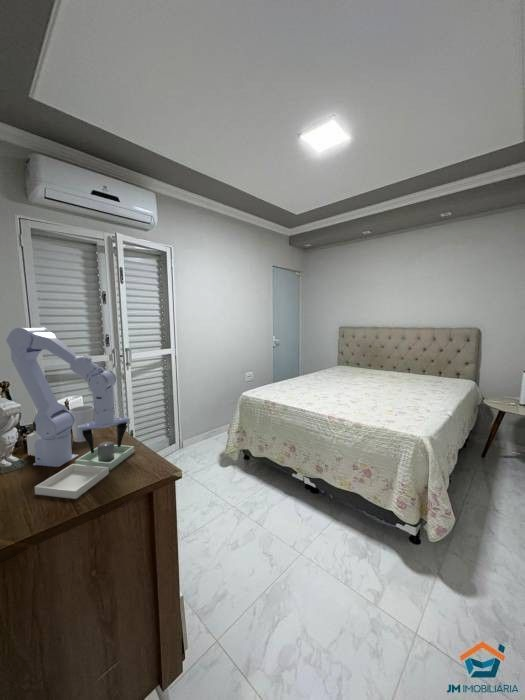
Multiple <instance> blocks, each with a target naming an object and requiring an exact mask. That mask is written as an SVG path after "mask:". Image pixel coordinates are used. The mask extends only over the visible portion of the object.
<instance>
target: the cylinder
mask: <svg viewBox="0 0 525 700" xmlns="http://www.w3.org/2000/svg"><path fill="white" fill-rule="evenodd" d="M114 445H115V443H114V442H113V441H104V442H101V443H98V445H97V447H98V461H100V462H110V461H112V460H113V459H114Z"/></svg>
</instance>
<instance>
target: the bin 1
mask: <svg viewBox="0 0 525 700" xmlns="http://www.w3.org/2000/svg"><path fill="white" fill-rule="evenodd" d="M109 472H110V470H109V467H101V466H91V465H80V464H75V463H71V464H70V465H68V466H67V467H65V468H63V469H62V470H60V471H59V472H57V473H55V474H54V475H51V476H49V477H48V478H47V479H45V480H43V481H42V482H40V483H38V484H37V485H35V486H34V495H37V496H47V497H56V498H65V499H70V500H71V499H72V500H77V499H78V498H80V497H81V496H82V495H83V494H84V493H86V492H87V491H88V490H89V489H91V488H92V487H94V486H95V485H96V484H97V483H99V482H100V481H101V480H103V479H104V478H105V477H107V476H108V475H109Z"/></svg>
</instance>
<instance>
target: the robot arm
mask: <svg viewBox="0 0 525 700" xmlns="http://www.w3.org/2000/svg"><path fill="white" fill-rule="evenodd" d="M5 341H6V343H7V345H8V347H9V348H10V349H9V350H10V355H11V357H10V359H11V360H12V361H11V362H12V364H13V365H14V367H15V370H16V371H17V373H18V375H19V377H20V379H21V381H22V383H23V385H24V386H25V389H26V391H27V392H28V394H29V397H30V398H31V400H32V402H33V405H34V406H35V408H36V410H37V412H36V414H35V417H34V418H33V422H34V421H35V424H36V432H37V434H38V435H39V437H38V438H37V439H36V441H35V445H34V447H35V456H34V459H35V462H34V463H33V464H32V465H33V466H46V467H56V468H58V467H61V466H62V465H64V464H67V463H68V462H70V461H71V460H73V459H74V458H76V457H78V456H79V454H76V453H75V454H73V453H72V435H71V431H72V426H73V424H74V422H75V418H74V415H73V414H72V413H71V412H70V411H69V409H68V408H67V406H66V405H64V404H61V403H60V402H59V401H58V400H57V398H56V396H55V394H54V392H53V390H52V388H51V386H50V383H49V382H48V380H47V378H46V376H45V374H44V372H43V370H42V368H41V366H40V364H39V361H38V360H37V358H38V357H39V354H41V352H42V351H43V350H44V351H45V350H46V351H47V352H50V353H52V354H53V355H55V356H56V357H58V358H59V359H61V360H62V361H64V362H66V363H67V364H69V369H70V371H71V372H73V373H74V374H76V376H78V377H80V378H81V379H83V380H84V381H85V382H87V385H88V387H89V389H90V390H91V392H92V400H93V407H94V414H93V422H91V423H87V424H83V425H78V433H83V436H84V438H85V439H86V441H85V442H87V444H88V447H89V448H90V451H91V453H94V449H95V448H94V433H93V434H92V430H93V431H95V430H100V429H105V428H110V427H115V426H116V433H117V434H116V435H117V436H116V437H117V438H116V440H117V441H116V442H117V443H116V445H118V447H121V445H122V441H123V438H124V435H125V433H126V431H127V428H128V426H127V425H129V424H130V423H131V421H130V417H129V416H124V417H115V397H114V385H115V384H116V383H117V377H116V374H115V373H114V372H113V371H112V370H109V369H104V367H103V366H99V365H98V364H97V363H95V362H94V361H93V358H92V357H90V356H85V355H81V356H79V355H78V354H77V353H75V352H74V351H73V350H72V349H71V348H69V347H68V346H67V345H66V344H65V343H64V342H63V341H61V340H60V339H59V338H57V336H56V335H55V333H53V332H51V331H50V330H49V329H48V328H47V327H42V326H39V327H15V328H13V329H12V330H11V331H10V332H9V334H8V336H7V337H6V339H5Z"/></svg>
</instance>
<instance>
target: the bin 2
mask: <svg viewBox="0 0 525 700" xmlns="http://www.w3.org/2000/svg"><path fill="white" fill-rule="evenodd" d="M134 453H135V446H134V445H124V444H123V445H122V444H121V447H118V445H117V444H114V459H113V460H112V461H110V462H100V461H98V446H97V447H95V448H94V453H91V450H90V451H88V452H87V453H85V454H83V455H82V456H79V458H77V459H75V460H74V461H75V462H74V464H80V465H91V466H101V467H109V471H111V470H112V469H114V468H115V467H117V466H118V465H119V464H120V463H122V462H124V460H126V459H127V458H128V457H130V456H131V455H132V454H134Z"/></svg>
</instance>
